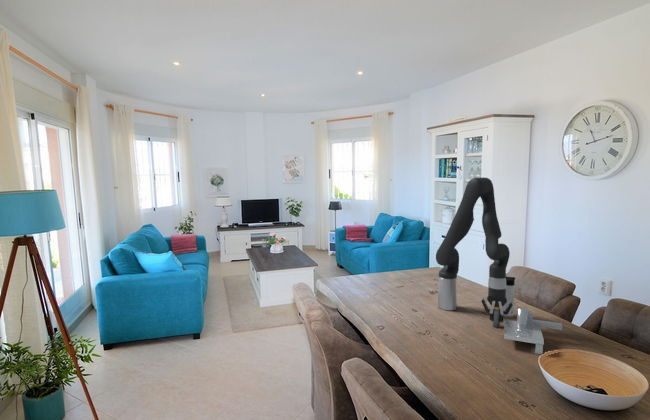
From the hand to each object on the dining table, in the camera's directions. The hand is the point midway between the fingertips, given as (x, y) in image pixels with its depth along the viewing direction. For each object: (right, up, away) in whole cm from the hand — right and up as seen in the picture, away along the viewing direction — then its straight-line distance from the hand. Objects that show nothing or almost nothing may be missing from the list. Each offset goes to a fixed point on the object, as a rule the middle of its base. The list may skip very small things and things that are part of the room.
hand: (496, 321), depth 167 cm
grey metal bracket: (+7, -4, -18) cm, 19 cm away
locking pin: (0, -3, 0) cm, 3 cm away
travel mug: (+12, -1, +12) cm, 17 cm away
